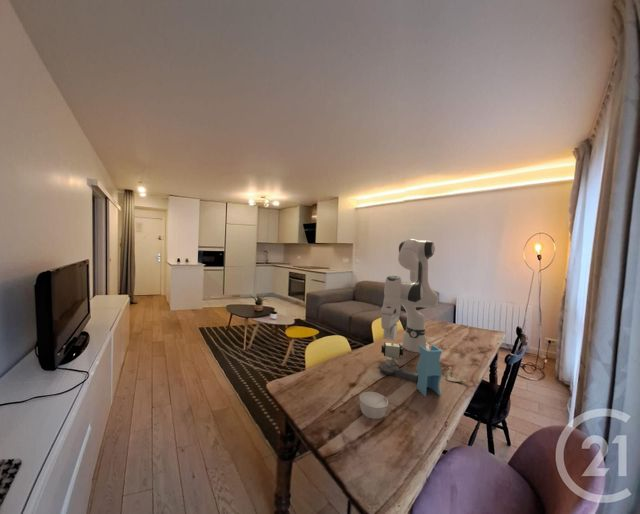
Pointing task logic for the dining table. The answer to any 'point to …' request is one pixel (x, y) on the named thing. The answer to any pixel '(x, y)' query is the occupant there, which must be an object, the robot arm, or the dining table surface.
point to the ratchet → (397, 371)
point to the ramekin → (373, 404)
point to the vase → (429, 369)
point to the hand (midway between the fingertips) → (390, 333)
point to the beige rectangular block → (393, 333)
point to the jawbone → (450, 378)
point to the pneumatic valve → (392, 351)
